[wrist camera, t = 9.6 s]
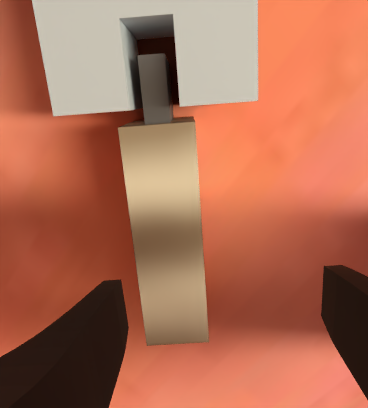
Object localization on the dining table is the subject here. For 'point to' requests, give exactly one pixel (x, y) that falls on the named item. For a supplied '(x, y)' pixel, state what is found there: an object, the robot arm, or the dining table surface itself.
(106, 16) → the grey stepped block
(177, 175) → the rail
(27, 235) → the dining table surface
